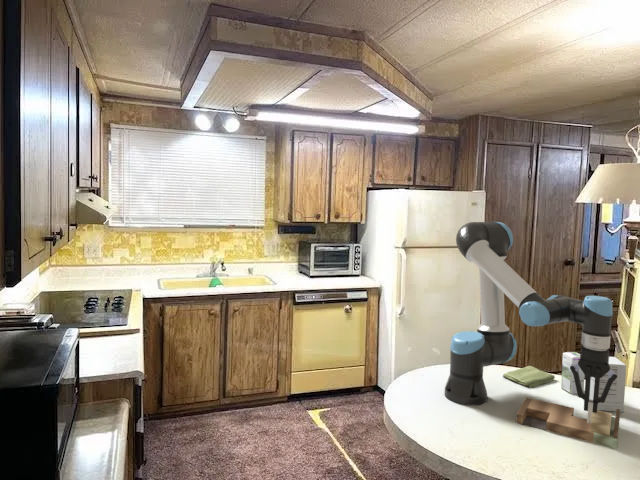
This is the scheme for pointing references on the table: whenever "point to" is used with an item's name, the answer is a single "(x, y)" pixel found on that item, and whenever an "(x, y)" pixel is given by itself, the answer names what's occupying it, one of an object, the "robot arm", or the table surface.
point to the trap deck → (564, 422)
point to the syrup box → (570, 372)
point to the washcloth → (529, 376)
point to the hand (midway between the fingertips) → (589, 421)
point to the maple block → (601, 422)
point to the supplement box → (612, 387)
